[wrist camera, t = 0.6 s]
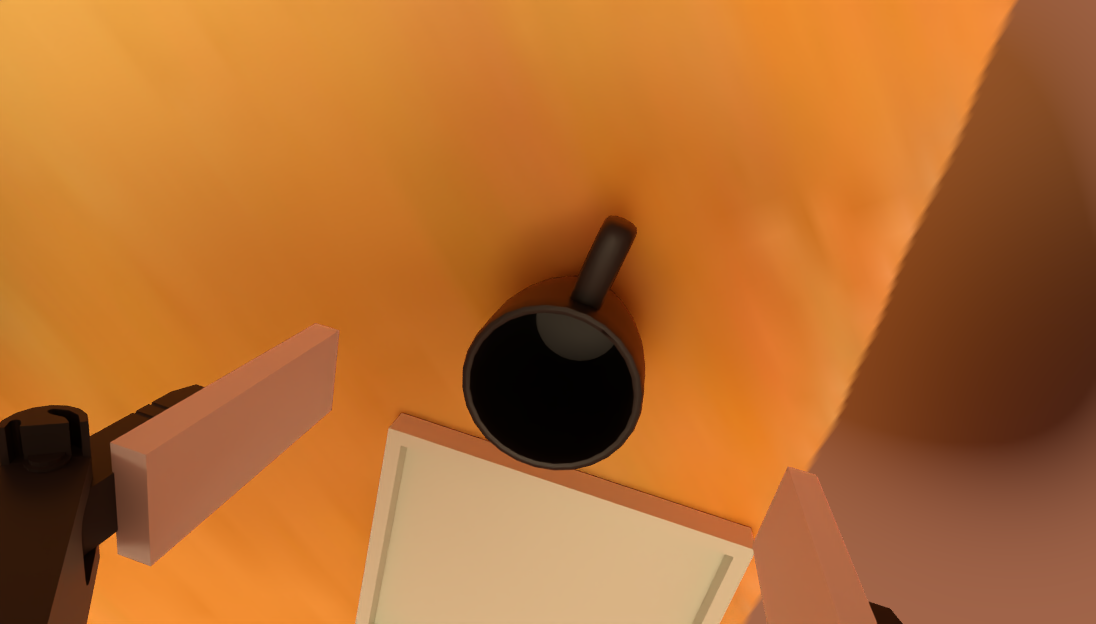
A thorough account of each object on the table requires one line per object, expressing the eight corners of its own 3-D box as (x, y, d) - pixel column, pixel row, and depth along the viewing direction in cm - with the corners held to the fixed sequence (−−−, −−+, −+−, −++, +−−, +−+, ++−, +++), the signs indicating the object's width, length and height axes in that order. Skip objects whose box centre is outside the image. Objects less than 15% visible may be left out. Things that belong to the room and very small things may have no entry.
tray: (364, 621, 46) (352, 643, 44) (401, 412, 39) (388, 427, 37) (654, 728, 44) (654, 755, 42) (751, 528, 36) (755, 550, 35)
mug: (705, 230, 31) (722, 276, 22) (611, 403, 35) (595, 499, 27) (568, 167, 31) (531, 188, 22) (492, 347, 36) (437, 424, 27)
